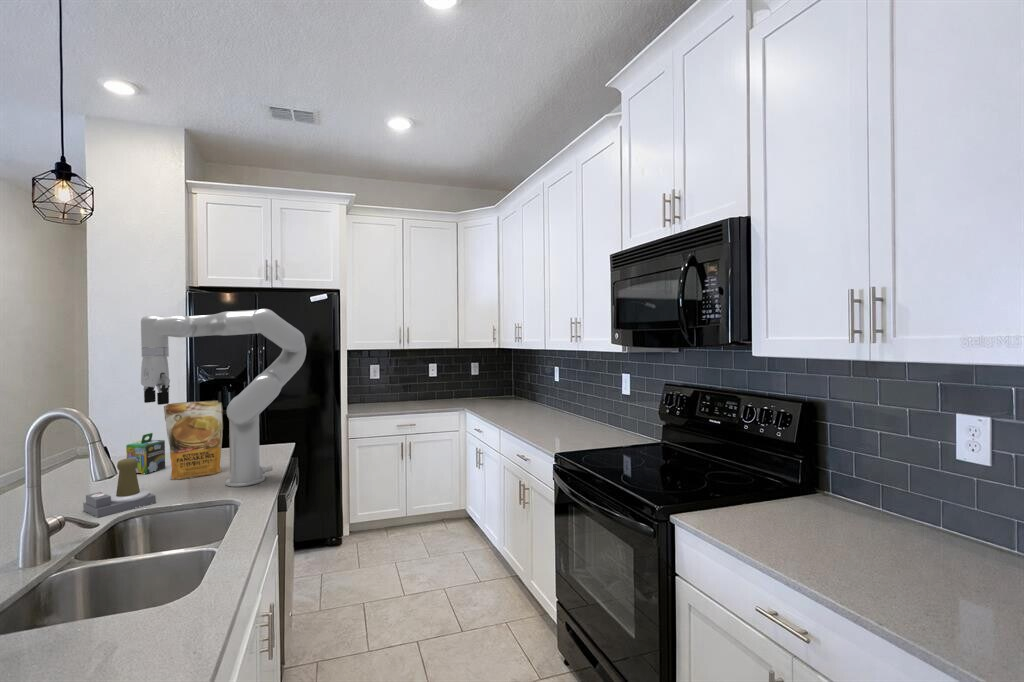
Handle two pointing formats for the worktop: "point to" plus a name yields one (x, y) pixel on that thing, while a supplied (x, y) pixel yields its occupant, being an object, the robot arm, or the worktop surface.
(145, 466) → the chalk box
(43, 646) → the worktop surface
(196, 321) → the robot arm
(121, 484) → the cork
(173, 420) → the pancake mix bag
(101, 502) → the kitchen scale
